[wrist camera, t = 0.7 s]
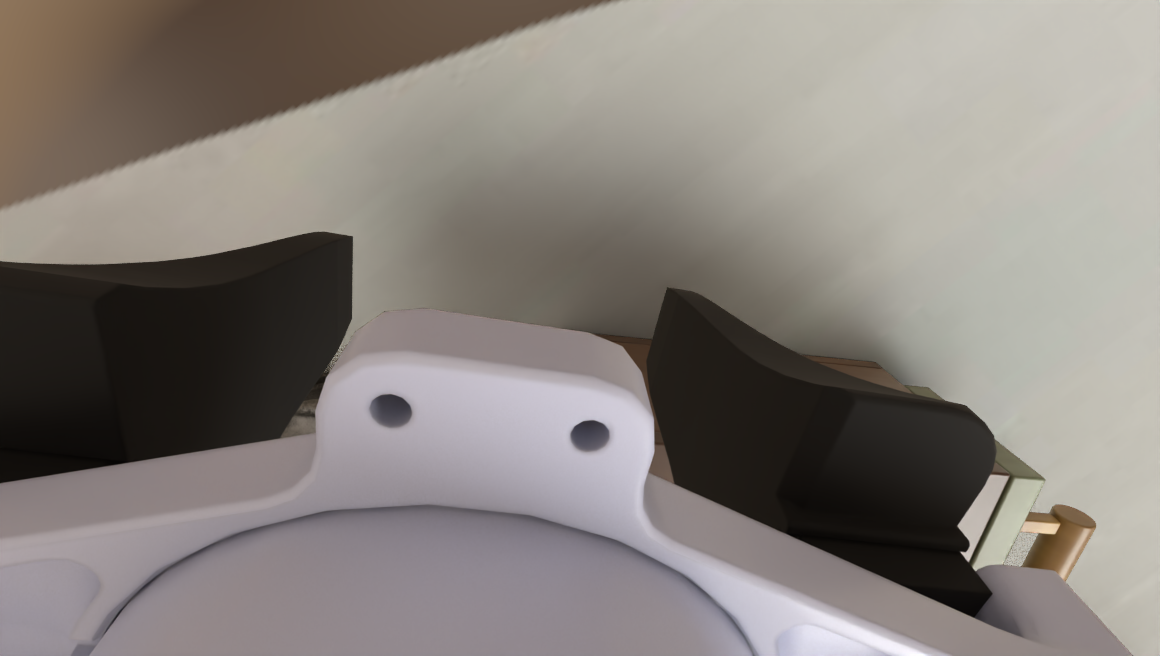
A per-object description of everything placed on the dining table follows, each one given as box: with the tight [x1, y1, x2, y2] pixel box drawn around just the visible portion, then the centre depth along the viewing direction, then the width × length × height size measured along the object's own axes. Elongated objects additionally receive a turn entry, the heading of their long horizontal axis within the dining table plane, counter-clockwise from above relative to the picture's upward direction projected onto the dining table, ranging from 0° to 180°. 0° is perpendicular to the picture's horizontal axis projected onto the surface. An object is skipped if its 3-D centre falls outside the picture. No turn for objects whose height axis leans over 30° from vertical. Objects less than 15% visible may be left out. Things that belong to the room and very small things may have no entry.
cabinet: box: [591, 333, 1010, 562], centre depth 24 cm, size 14×13×8 cm
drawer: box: [904, 385, 1096, 582], centre depth 24 cm, size 18×12×7 cm, turn 83°
